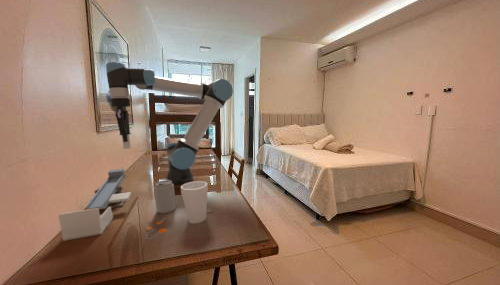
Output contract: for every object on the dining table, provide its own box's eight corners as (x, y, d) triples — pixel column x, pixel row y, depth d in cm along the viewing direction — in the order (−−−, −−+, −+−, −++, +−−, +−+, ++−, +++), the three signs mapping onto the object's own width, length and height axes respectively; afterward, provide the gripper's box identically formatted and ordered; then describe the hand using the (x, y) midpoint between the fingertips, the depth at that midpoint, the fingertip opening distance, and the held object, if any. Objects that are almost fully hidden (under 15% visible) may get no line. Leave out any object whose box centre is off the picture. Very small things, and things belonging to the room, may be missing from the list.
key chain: (167, 235, 67) (167, 233, 67) (142, 241, 64) (142, 239, 64) (167, 218, 79) (167, 216, 78) (146, 222, 76) (146, 220, 76)
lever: (111, 178, 104) (110, 170, 102) (140, 174, 107) (138, 167, 106) (87, 210, 78) (85, 200, 77) (126, 205, 82) (124, 195, 80)
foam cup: (182, 216, 79) (179, 183, 77) (207, 210, 82) (204, 179, 81) (185, 228, 70) (182, 192, 68) (212, 221, 74) (209, 186, 72)
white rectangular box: (81, 223, 77) (77, 200, 76) (113, 218, 80) (110, 195, 79) (63, 240, 66) (58, 214, 65) (101, 234, 69) (97, 208, 68)
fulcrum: (100, 203, 95) (98, 186, 94) (127, 199, 98) (125, 183, 97) (93, 211, 87) (90, 192, 86) (122, 206, 90) (119, 189, 89)
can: (153, 210, 85) (150, 182, 83) (171, 204, 90) (168, 178, 88) (161, 216, 79) (158, 186, 78) (179, 209, 85) (176, 181, 83)
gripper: (115, 99, 100) (122, 147, 103) (105, 97, 87) (114, 151, 91) (132, 99, 102) (138, 145, 105) (125, 96, 90) (133, 149, 93)
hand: (127, 148), depth 98 cm, fingers closed
